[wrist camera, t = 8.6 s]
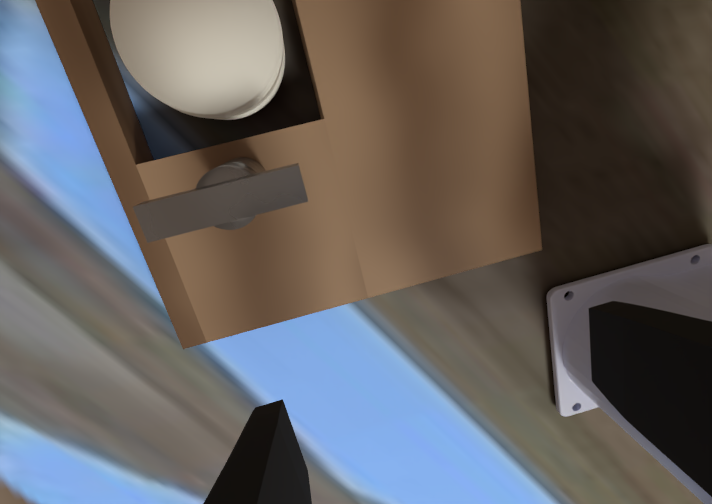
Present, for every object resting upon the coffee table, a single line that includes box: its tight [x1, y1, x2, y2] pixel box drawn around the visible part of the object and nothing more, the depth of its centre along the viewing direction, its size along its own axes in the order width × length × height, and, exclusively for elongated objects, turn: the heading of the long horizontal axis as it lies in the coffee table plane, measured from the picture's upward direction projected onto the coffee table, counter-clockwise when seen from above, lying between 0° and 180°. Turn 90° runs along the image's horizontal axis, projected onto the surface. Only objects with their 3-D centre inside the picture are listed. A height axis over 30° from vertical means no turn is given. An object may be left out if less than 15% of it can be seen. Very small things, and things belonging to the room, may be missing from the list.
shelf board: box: [35, 0, 542, 349], centre depth 16 cm, size 16×14×2 cm
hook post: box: [133, 157, 308, 243], centre depth 13 cm, size 4×2×5 cm, turn 103°
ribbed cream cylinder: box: [110, 0, 285, 120], centre depth 14 cm, size 5×5×5 cm
